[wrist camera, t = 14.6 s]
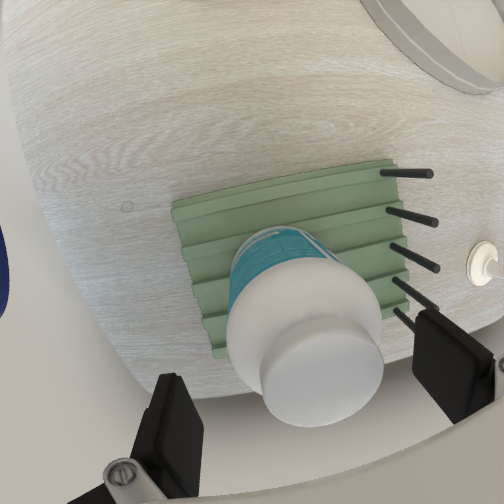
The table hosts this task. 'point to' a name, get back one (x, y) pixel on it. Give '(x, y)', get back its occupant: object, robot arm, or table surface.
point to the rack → (311, 221)
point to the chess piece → (484, 264)
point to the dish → (448, 38)
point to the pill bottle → (302, 328)
